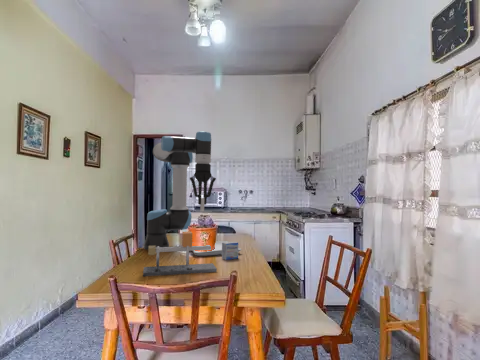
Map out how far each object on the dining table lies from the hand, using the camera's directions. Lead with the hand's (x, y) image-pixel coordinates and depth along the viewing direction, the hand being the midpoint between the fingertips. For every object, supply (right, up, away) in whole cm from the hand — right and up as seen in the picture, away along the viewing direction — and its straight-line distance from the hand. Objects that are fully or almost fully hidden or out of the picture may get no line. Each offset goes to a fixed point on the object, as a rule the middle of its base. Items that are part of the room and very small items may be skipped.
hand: (202, 211), depth 156 cm
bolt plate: (-9, -26, -11) cm, 30 cm away
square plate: (+2, -28, +32) cm, 42 cm away
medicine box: (+13, -27, +15) cm, 33 cm away
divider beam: (-9, -24, -12) cm, 28 cm away
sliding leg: (-6, -24, -11) cm, 27 cm away
